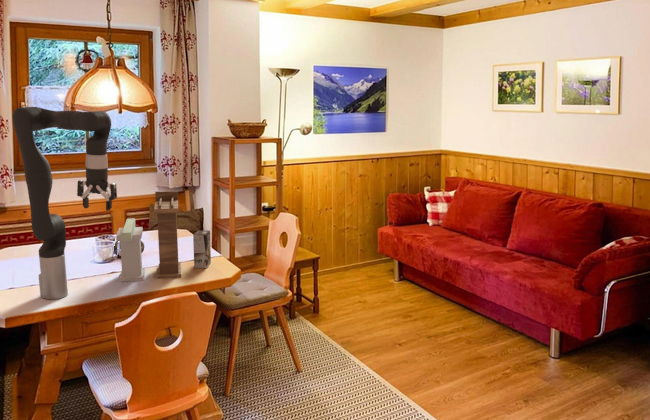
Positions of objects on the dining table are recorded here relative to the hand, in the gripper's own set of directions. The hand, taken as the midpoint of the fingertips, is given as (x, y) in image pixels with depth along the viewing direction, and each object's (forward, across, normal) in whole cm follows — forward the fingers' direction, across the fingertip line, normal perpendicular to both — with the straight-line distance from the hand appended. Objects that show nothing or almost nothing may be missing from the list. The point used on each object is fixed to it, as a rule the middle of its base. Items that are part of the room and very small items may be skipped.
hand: (97, 209), depth 216 cm
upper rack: (+38, -12, -42) cm, 59 cm away
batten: (+18, +2, -31) cm, 36 cm away
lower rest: (+39, +2, -34) cm, 52 cm away
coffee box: (+38, -24, -56) cm, 71 cm away
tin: (+41, +17, -65) cm, 79 cm away
